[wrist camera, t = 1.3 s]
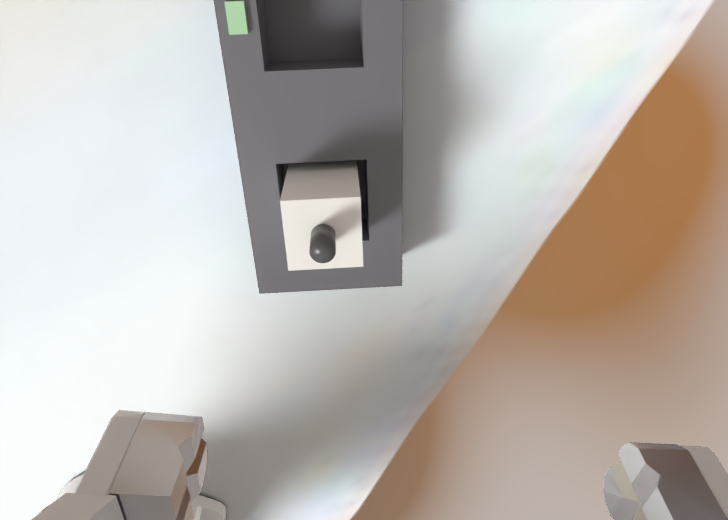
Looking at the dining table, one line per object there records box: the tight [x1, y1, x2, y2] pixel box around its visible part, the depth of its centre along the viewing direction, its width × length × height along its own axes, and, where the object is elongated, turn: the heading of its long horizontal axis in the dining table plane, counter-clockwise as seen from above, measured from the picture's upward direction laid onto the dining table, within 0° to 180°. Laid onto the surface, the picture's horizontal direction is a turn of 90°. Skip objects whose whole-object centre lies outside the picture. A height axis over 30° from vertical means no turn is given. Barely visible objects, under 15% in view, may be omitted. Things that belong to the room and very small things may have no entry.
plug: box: [280, 160, 363, 271], centre depth 32 cm, size 4×4×10 cm
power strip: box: [214, 0, 403, 294], centre depth 32 cm, size 24×10×5 cm, turn 2°
